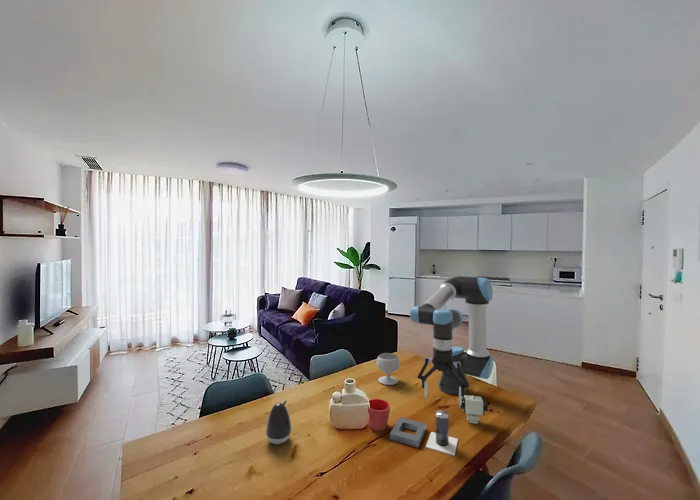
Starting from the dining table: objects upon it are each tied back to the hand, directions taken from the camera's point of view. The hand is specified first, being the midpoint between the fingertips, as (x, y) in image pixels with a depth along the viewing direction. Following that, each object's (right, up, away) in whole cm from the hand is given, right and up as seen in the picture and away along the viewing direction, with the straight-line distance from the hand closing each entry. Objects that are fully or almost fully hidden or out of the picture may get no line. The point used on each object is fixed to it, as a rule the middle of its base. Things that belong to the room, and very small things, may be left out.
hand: (442, 399), depth 125 cm
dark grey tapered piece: (-67, -18, +2) cm, 70 cm away
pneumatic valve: (+19, -18, +16) cm, 31 cm away
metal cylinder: (0, -17, 0) cm, 17 cm away
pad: (0, -18, 0) cm, 18 cm away
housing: (-13, -18, +6) cm, 23 cm away
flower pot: (-25, -18, +12) cm, 33 cm away
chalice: (-15, -18, +58) cm, 63 cm away
